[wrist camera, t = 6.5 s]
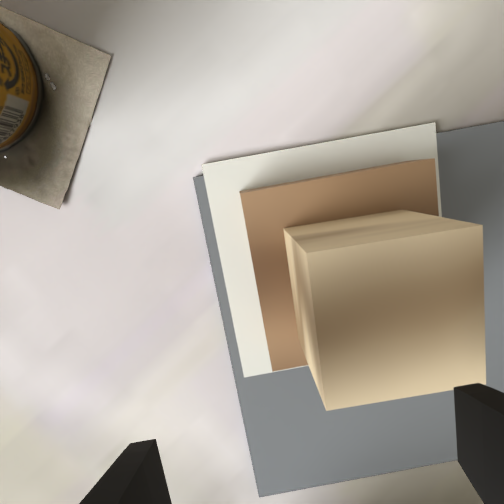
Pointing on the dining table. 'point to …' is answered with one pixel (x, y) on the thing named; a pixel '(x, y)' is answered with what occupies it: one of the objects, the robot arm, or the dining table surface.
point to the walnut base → (316, 211)
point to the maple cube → (389, 305)
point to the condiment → (44, 105)
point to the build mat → (300, 378)
